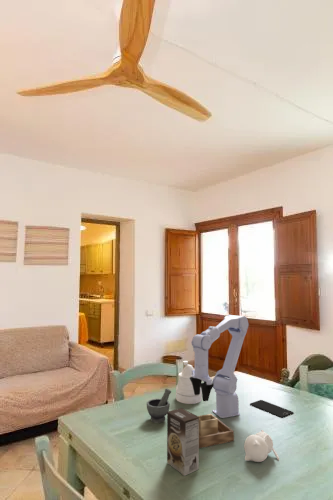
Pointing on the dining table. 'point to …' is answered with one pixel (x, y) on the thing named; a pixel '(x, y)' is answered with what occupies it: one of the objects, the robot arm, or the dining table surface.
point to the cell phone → (271, 408)
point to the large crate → (217, 436)
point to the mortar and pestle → (159, 407)
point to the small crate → (207, 425)
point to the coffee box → (183, 441)
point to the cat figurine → (258, 447)
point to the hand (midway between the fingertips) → (201, 397)
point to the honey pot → (186, 387)
